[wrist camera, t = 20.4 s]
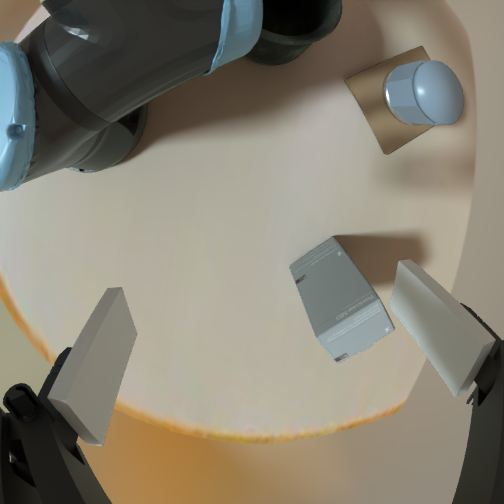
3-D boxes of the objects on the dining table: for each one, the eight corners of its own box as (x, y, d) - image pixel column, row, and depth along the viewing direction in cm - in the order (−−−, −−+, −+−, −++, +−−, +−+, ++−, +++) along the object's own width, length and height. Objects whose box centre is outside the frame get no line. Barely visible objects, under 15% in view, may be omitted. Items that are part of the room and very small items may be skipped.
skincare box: (332, 234, 41) (381, 290, 27) (352, 268, 44) (400, 329, 29) (285, 266, 43) (312, 336, 28) (308, 298, 45) (339, 369, 31)
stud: (371, 79, 31) (396, 73, 25) (413, 59, 30) (439, 53, 24) (400, 135, 34) (427, 138, 29) (438, 112, 33) (465, 113, 27)
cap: (418, 133, 33) (448, 138, 27) (377, 95, 31) (406, 91, 25) (440, 94, 31) (470, 94, 25) (402, 55, 29) (431, 47, 22)
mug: (224, 66, 30) (222, 38, 20) (233, -21, 25) (236, -67, 14) (308, 74, 32) (342, 54, 21) (311, -12, 26) (340, -51, 15)
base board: (344, 80, 32) (347, 79, 31) (418, 46, 29) (422, 45, 28) (384, 154, 37) (387, 154, 36) (450, 112, 34) (454, 113, 33)
